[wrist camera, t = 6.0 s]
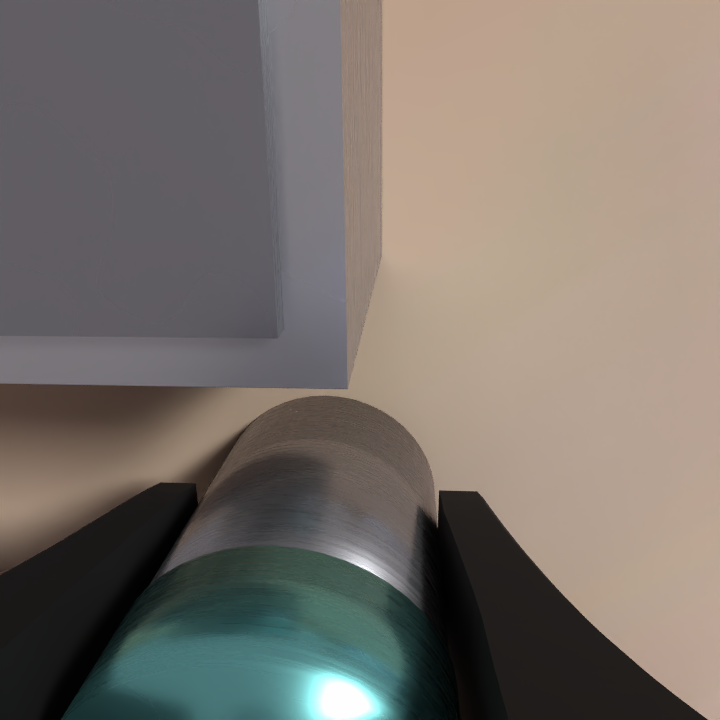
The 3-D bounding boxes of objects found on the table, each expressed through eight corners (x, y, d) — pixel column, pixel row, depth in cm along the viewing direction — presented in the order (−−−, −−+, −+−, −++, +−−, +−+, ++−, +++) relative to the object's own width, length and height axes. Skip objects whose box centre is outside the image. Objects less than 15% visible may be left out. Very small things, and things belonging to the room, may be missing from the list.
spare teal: (434, 586, 11) (463, 995, 6) (231, 578, 12) (71, 961, 6) (440, 395, 10) (486, 681, 4) (213, 391, 10) (-13, 656, 5)
